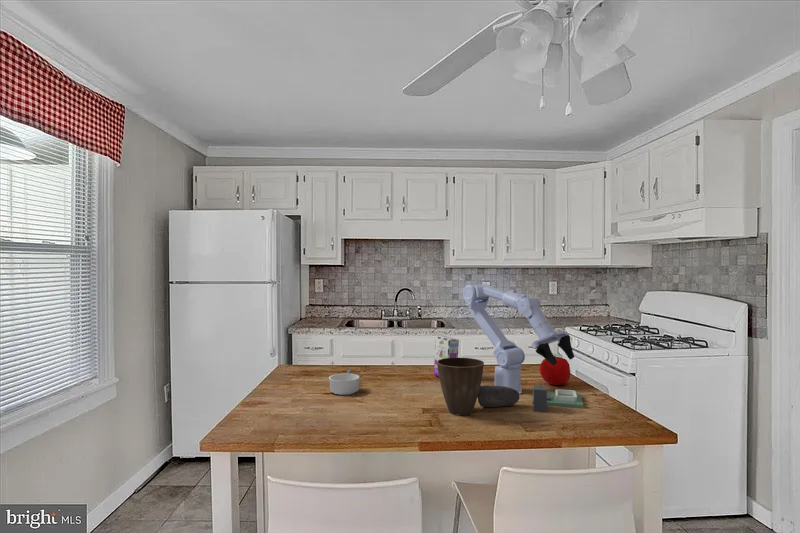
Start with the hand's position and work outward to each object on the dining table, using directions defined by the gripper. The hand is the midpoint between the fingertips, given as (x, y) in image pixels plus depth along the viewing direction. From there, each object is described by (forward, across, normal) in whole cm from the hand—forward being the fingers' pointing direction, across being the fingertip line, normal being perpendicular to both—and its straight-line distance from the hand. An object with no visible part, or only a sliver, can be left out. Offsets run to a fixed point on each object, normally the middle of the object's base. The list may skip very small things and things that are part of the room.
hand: (563, 361), depth 160 cm
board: (+8, -1, +13) cm, 16 cm away
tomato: (0, +13, +28) cm, 31 cm away
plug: (+10, -13, +8) cm, 18 cm away
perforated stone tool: (+3, -23, +14) cm, 27 cm away
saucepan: (-28, -61, +43) cm, 80 cm away
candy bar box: (-21, -20, +46) cm, 54 cm away
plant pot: (+1, -37, +12) cm, 39 cm away
